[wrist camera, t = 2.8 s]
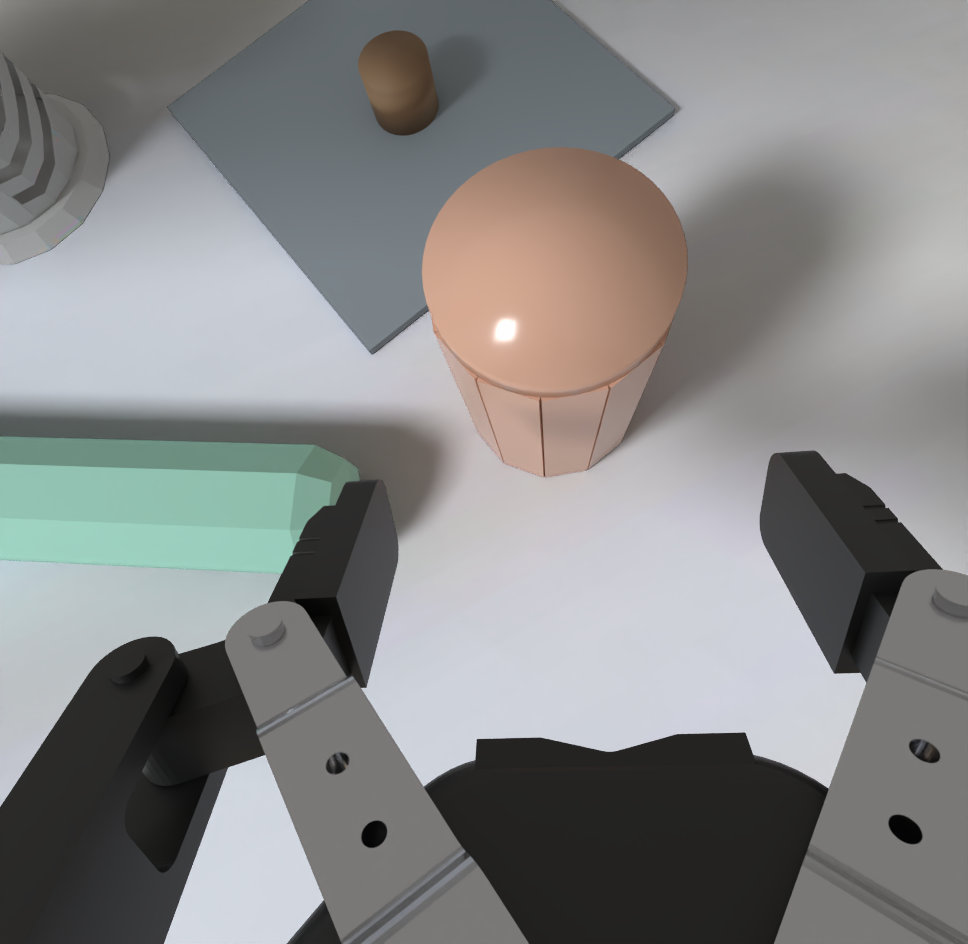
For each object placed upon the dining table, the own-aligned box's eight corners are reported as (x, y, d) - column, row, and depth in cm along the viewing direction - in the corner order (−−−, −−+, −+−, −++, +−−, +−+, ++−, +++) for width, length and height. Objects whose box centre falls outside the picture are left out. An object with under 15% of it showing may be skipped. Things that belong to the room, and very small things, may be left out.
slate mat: (371, 354, 25) (369, 351, 25) (172, 113, 29) (166, 107, 29) (673, 115, 26) (675, 108, 26) (439, -88, 30) (438, -97, 30)
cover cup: (541, 507, 23) (534, 441, 14) (442, 390, 25) (371, 254, 15) (666, 405, 24) (746, 268, 14) (560, 295, 25) (566, 102, 15)
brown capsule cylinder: (400, 147, 27) (385, 102, 25) (362, 107, 28) (344, 59, 25) (451, 107, 27) (441, 59, 25) (412, 69, 28) (399, 18, 25)
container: (328, 444, 18) (-358, 426, 21) (334, 623, 20) (-319, 585, 22) (381, 424, 24) (-162, 412, 27) (383, 563, 25) (-139, 539, 28)
